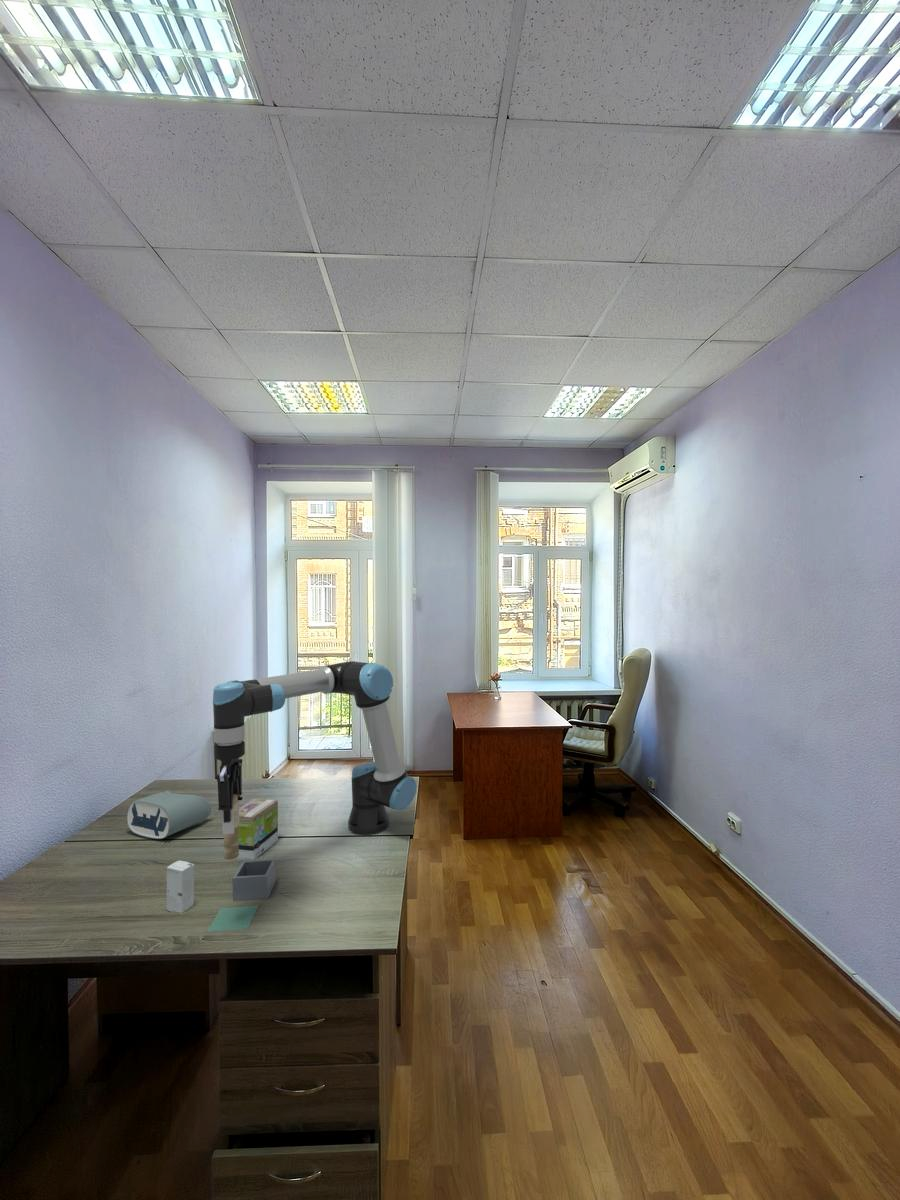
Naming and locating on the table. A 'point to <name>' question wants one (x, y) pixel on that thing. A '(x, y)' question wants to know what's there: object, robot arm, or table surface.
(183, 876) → the skincare box
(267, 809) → the tea box
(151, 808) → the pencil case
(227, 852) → the dowel
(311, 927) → the table surface
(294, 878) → the table surface
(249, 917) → the mat
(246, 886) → the pen cup
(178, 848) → the table surface
